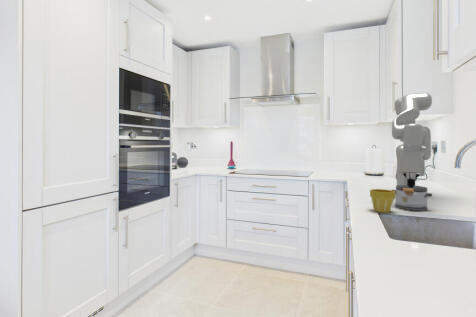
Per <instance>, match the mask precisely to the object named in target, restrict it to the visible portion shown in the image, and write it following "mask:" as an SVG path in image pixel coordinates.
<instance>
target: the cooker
mask: <svg viewBox="0 0 476 317" xmlns="http://www.w3.org/2000/svg"><path fill="white" fill-rule="evenodd" d="M390 190H391V191H395V193H396V196H395V203H394V207H395V208H396V209H398V208H399V210H402V209H403V211H407V210H409V211H408V212H426V211H428V197H431V198H432V197H433V193H431V192H428V190H427V191H423V192H418V191H413V192H411V191H403V190H399V189H396V188H395V189H390Z"/></svg>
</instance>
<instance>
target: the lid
mask: <svg viewBox="0 0 476 317" xmlns="http://www.w3.org/2000/svg"><path fill="white" fill-rule="evenodd" d="M396 189H399V190H403V191H411V192H413V191H418V192H423V191H427V192H428V187H427V186H422V185H415V186H413V188H411V187H409V185H397V184H396V185H395V190H396Z"/></svg>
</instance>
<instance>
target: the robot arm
mask: <svg viewBox="0 0 476 317" xmlns="http://www.w3.org/2000/svg"><path fill="white" fill-rule="evenodd" d="M432 103H433V98H432V95H431V94H430V93H429V92H420V93H419V92H418V93H409V94H406V95H403V96H402V97H400V98H397V99H396V100H395V102H394V110H395V114H396V115H395V117H394V119H393V120H392V123H391V136H392V139H394V140H399V141H400V142H402V144H399V145H398V146H397V147H396V148H395V156H396V165H397V166H396V186H397V185H409V187H411V188H413V186H416V179H417V178H418V177H424V176H426V173H425V169H426V168H425V166H426V164H425V161H428V160H430V159H431V156H432V134H431V129H430V128H429V127H428V126H425V125H424V126H423V125H422V124H420V123H416V120H417V119H418V118H419V117H420V114H421V113H420V112H421V111H426V110H428V109H430V108H431V106H432V105H433V104H432ZM395 197H396V193H395Z"/></svg>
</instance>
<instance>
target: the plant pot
mask: <svg viewBox="0 0 476 317" xmlns="http://www.w3.org/2000/svg"><path fill="white" fill-rule="evenodd" d="M391 190H392V189H382V188H381V189H380V188H373V189H369V197H370V198H371V203H372V206H373V207H372V208H373V211H374V212H376V213H384V214H389V213H390V212H391V210H392V205H393V201H394V200H396V196H395V191H391Z"/></svg>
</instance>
